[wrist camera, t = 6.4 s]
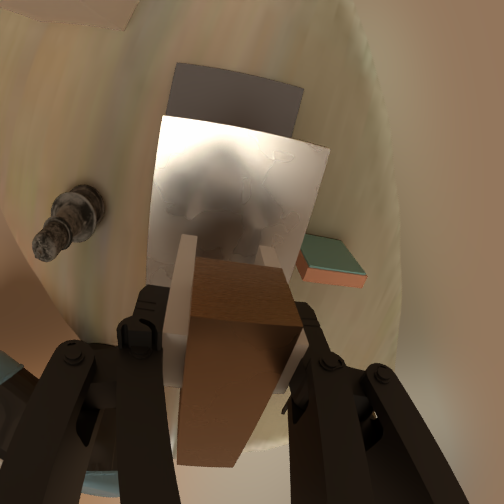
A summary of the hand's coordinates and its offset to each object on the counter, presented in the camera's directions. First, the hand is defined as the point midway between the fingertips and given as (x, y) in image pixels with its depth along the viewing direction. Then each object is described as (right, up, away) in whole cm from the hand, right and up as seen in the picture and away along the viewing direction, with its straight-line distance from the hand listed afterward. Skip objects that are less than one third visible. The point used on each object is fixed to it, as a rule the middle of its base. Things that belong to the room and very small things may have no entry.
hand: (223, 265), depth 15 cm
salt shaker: (-18, +6, +16) cm, 25 cm away
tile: (+9, +2, +21) cm, 23 cm away
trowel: (0, 0, +2) cm, 2 cm away
